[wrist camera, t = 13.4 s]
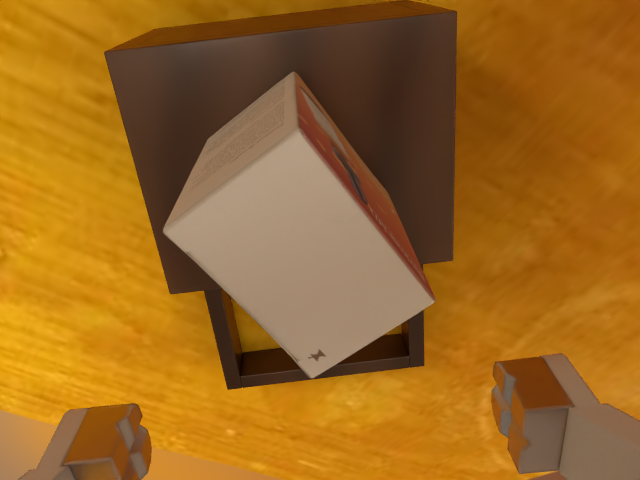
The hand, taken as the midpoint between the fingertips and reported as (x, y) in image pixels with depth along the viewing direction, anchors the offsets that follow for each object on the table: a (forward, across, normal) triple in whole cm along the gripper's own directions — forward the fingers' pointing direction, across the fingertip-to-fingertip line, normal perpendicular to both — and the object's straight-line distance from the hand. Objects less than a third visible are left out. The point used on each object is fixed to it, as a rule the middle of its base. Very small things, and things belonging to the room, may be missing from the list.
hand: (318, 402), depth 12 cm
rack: (+27, 0, +7) cm, 28 cm away
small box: (+16, 0, 0) cm, 17 cm away
